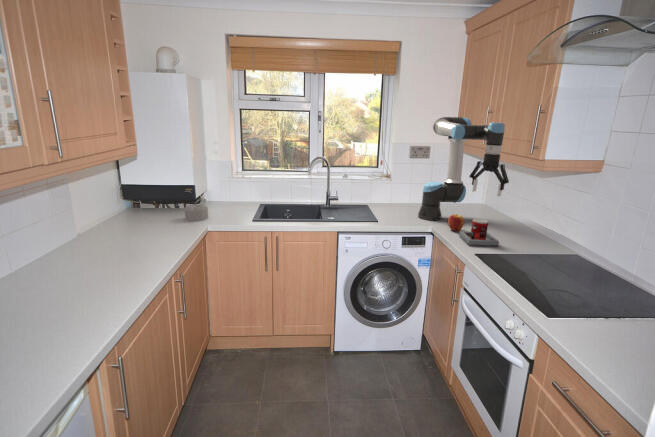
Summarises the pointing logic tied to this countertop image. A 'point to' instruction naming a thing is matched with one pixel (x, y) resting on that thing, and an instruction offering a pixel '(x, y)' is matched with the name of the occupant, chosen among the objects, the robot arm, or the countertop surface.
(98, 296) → the countertop surface
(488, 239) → the tray
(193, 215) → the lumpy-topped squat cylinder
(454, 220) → the apple
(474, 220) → the canned food
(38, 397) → the countertop surface
